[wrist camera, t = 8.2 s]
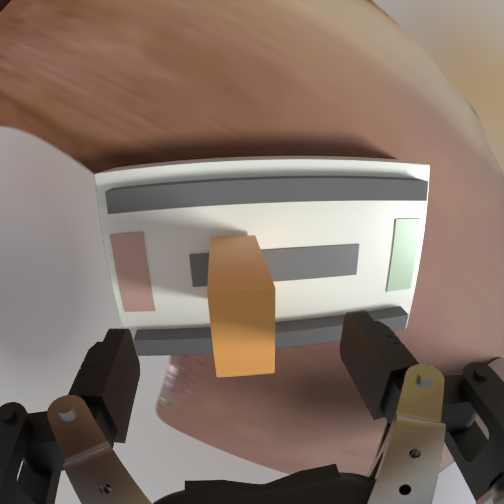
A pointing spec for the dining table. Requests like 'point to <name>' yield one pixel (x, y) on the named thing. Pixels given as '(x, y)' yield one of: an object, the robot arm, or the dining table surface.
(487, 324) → the dining table surface
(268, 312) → the block
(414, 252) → the breaker panel
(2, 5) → the manual coffee grinder
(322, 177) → the pair of grey rails
